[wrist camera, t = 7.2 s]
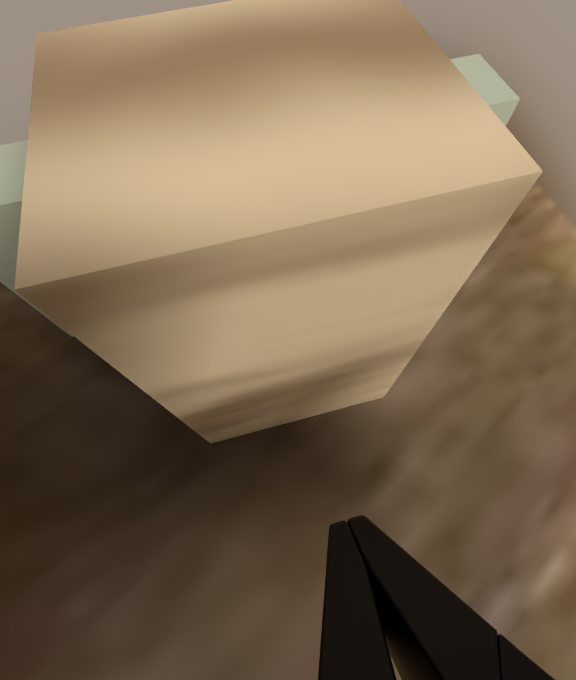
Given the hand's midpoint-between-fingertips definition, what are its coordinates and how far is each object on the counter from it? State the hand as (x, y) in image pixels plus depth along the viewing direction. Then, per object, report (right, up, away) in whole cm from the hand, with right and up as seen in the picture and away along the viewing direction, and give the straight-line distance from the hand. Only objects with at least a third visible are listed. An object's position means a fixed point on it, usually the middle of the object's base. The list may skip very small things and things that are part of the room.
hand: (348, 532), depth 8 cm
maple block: (-2, +4, +9) cm, 10 cm away
